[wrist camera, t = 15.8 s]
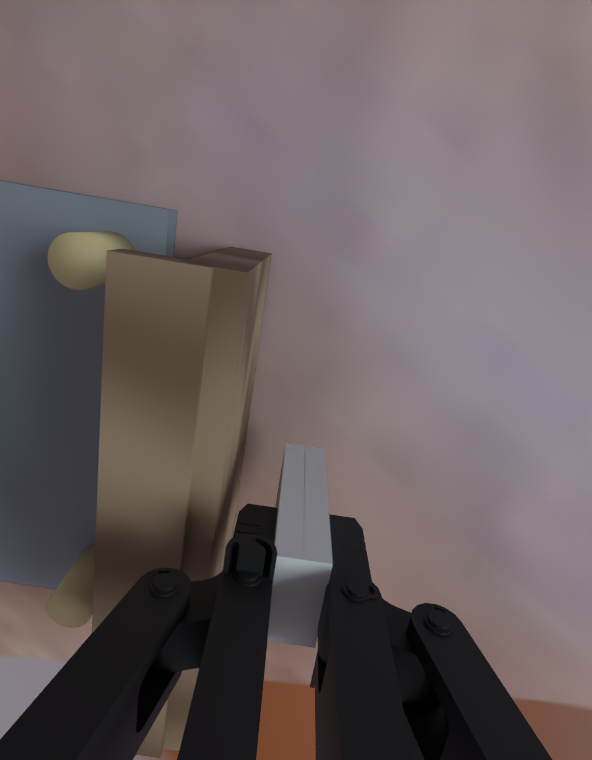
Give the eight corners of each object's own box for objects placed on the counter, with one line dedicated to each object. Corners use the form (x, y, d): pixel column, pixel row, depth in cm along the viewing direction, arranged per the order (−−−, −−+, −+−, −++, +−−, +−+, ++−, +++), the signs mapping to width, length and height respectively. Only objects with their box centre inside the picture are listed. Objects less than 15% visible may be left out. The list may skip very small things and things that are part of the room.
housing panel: (190, 239, 19) (106, 250, 11) (271, 253, 19) (246, 273, 11) (160, 573, 24) (87, 747, 16) (225, 583, 24) (184, 761, 16)
